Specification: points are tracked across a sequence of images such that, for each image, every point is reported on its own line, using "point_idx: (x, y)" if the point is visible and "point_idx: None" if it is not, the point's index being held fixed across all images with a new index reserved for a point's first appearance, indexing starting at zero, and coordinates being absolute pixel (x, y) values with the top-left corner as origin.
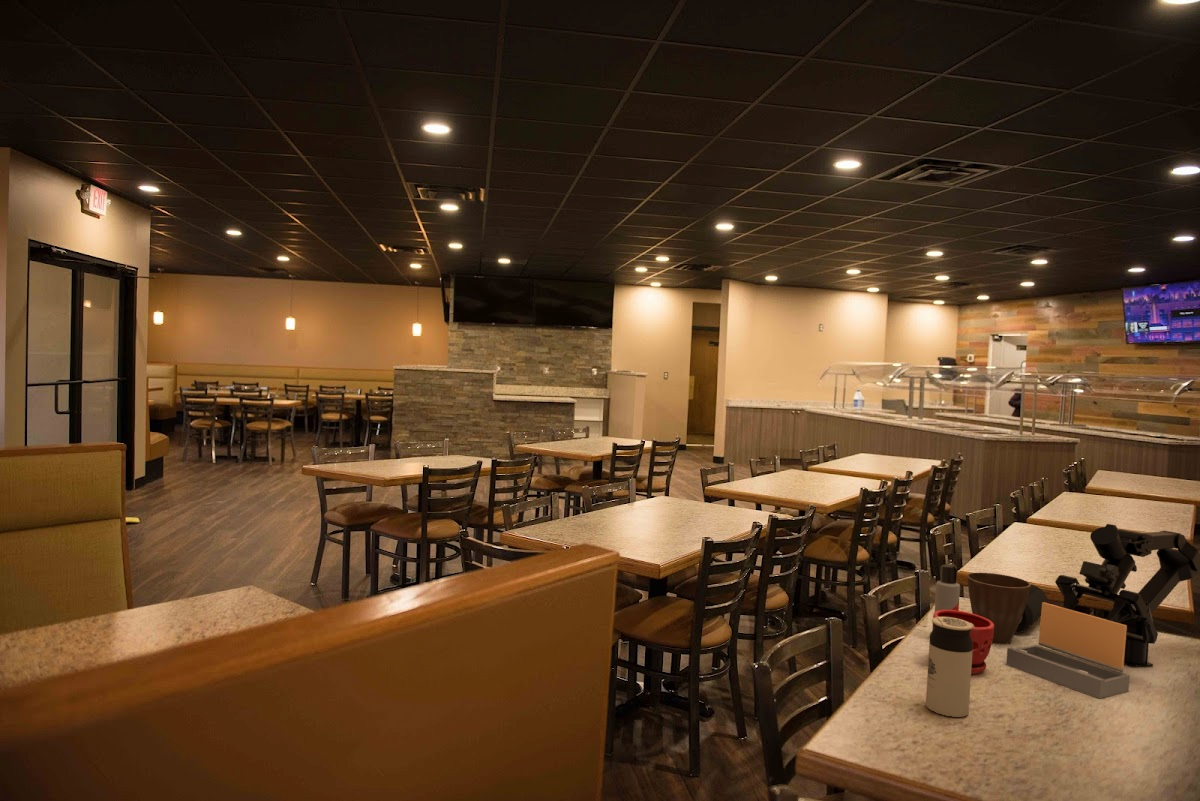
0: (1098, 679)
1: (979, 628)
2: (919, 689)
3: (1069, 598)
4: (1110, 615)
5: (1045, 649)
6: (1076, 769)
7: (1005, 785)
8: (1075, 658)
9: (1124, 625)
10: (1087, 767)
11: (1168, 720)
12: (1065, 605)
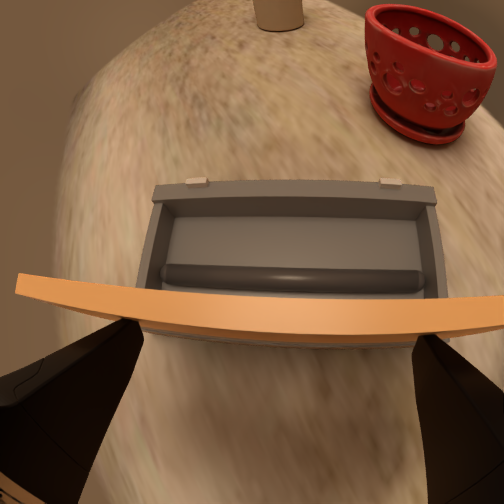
0: (161, 185)
1: (368, 10)
2: (340, 32)
3: (498, 439)
4: (60, 357)
5: None
6: (145, 47)
7: (176, 14)
8: None
9: (20, 277)
10: (139, 54)
11: (75, 232)
12: (470, 378)
